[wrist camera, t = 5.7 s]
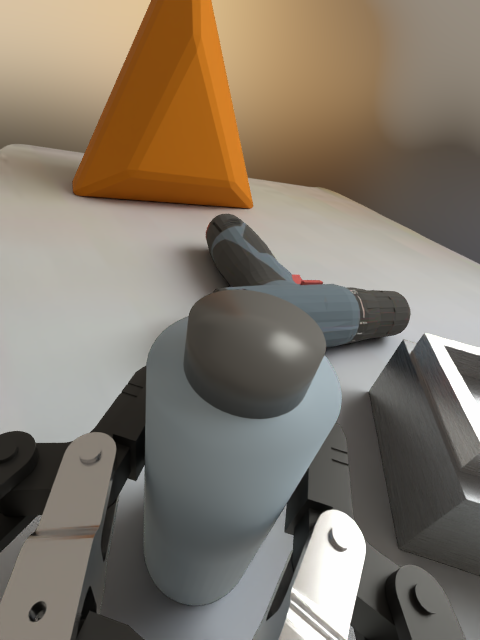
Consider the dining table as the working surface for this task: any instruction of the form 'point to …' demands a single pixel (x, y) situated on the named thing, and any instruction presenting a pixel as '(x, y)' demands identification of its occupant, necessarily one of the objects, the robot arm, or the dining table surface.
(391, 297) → the power drill
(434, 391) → the grey metal open box
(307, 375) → the capped canister
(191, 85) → the decorative object
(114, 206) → the dining table surface
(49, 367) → the dining table surface
